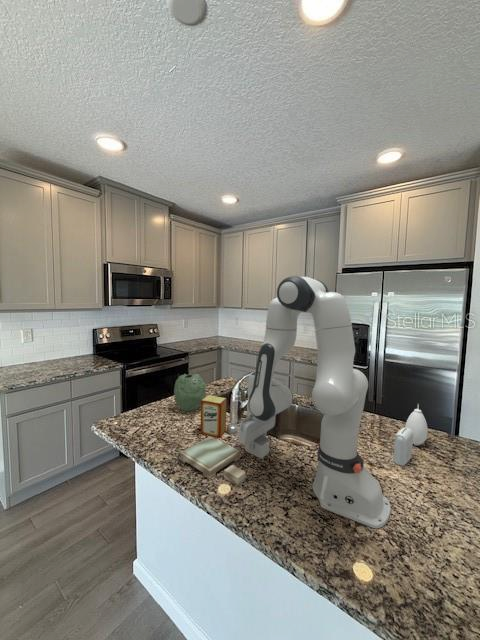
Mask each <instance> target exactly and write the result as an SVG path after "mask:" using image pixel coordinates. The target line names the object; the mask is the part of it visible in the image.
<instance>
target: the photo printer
mask: <svg viewBox="0 0 480 640" xmlns="http://www.w3.org/2000/svg"><path fill="white" fill-rule="evenodd" d="M393 446H394V447H393V448H394V449H393V458H392V459H393V461H392V462H394V464H396V465H398V466H400V467H402V466H405V465H407V463H409V461H410V460H411V458H412V453H413V431H412V430H411V429H410V428H407V427H405V426H404V427H402V428H401V429H398V431H397V433H396V434H395V436H394V445H393Z"/></svg>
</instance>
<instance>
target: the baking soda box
mask: <svg viewBox="0 0 480 640" xmlns="http://www.w3.org/2000/svg"><path fill="white" fill-rule="evenodd" d="M227 401H228V400H227V398H226V397H220V396H217V395H210V394H209V395H208V394H207V395H205V398H203V399H202V400H201V406H200V435H201V436H202V435H203V436H205V437H210V436H211V437H213V438H215V439H221V438H222V437H223V436H224V434H225V433H227Z"/></svg>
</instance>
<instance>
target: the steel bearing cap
mask: <svg viewBox="0 0 480 640" xmlns="http://www.w3.org/2000/svg"><path fill="white" fill-rule="evenodd" d="M238 427H239V425H238V424H237V423H232V422H231V423H226V434H228V435H232V436H233V435H237V434H239V428H238Z"/></svg>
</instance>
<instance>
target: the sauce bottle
mask: <svg viewBox="0 0 480 640" xmlns="http://www.w3.org/2000/svg"><path fill="white" fill-rule="evenodd" d="M419 405H420V404H419V403H417V408H415V409H413V411H412V412H411V413H410V415H409V416H408V418H407V420H406V422H405V425H404V428H405V427H407V428H410V429H411V430H412V431H413V444H414V445H413V444H412V445H413V446H421V445H423V444H424V443H425V441H426V439H427V438H428V423H427V421H426V418H425V416H424V414H423V412H422V410H421V409H419V407H420V406H419Z"/></svg>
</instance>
